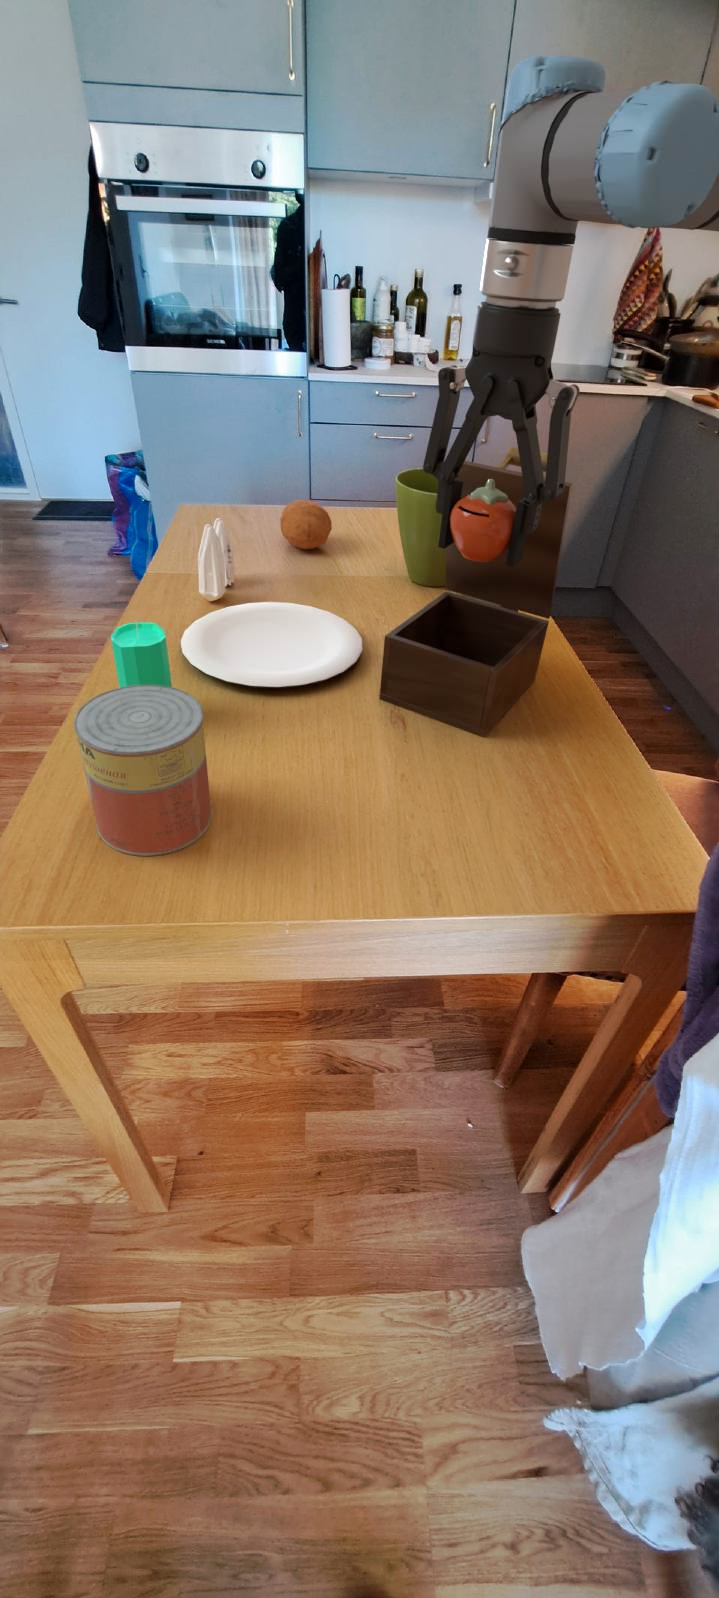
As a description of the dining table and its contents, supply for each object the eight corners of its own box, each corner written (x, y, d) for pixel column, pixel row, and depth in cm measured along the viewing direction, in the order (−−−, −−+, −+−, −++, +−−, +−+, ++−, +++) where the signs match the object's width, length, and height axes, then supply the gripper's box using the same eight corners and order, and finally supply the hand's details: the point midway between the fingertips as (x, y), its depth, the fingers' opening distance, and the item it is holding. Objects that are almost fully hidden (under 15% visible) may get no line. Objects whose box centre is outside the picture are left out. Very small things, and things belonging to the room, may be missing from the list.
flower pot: (408, 555, 133) (417, 461, 123) (486, 573, 129) (502, 477, 119) (373, 583, 123) (379, 483, 113) (456, 603, 118) (470, 501, 108)
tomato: (432, 554, 80) (441, 476, 75) (469, 538, 85) (480, 464, 79) (489, 574, 76) (503, 494, 71) (525, 556, 81) (540, 480, 76)
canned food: (108, 782, 78) (88, 683, 70) (216, 783, 79) (208, 685, 71) (85, 856, 69) (59, 752, 61) (207, 855, 70) (196, 753, 62)
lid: (570, 486, 80) (601, 447, 85) (448, 460, 86) (484, 425, 91) (548, 619, 94) (576, 578, 99) (445, 589, 99) (476, 552, 104)
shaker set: (222, 608, 112) (218, 535, 105) (195, 606, 112) (189, 533, 105) (237, 577, 121) (234, 509, 114) (212, 575, 121) (207, 507, 114)
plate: (391, 679, 98) (392, 668, 97) (205, 710, 90) (204, 698, 88) (325, 603, 115) (325, 592, 114) (165, 622, 107) (163, 611, 106)
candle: (145, 696, 91) (131, 605, 84) (185, 709, 89) (175, 617, 82) (113, 718, 87) (95, 625, 79) (154, 733, 85) (140, 638, 78)
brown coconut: (329, 536, 139) (330, 494, 134) (333, 558, 130) (334, 515, 126) (280, 534, 138) (280, 493, 133) (280, 557, 129) (280, 513, 125)
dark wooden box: (485, 737, 88) (497, 672, 83) (379, 699, 94) (384, 635, 88) (534, 681, 100) (549, 620, 94) (437, 649, 105) (445, 590, 100)
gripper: (401, 291, 67) (382, 540, 82) (619, 318, 60) (556, 587, 74) (438, 288, 72) (414, 523, 87) (643, 312, 65) (579, 565, 79)
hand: (479, 552), depth 80 cm, fingers closed on tomato, 7 cm apart
